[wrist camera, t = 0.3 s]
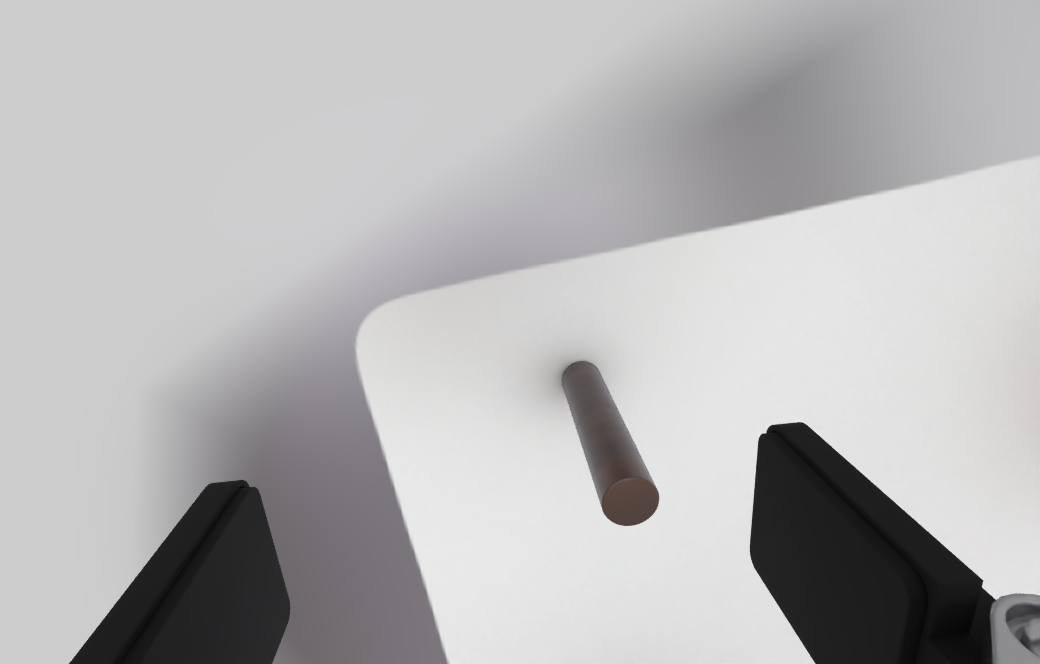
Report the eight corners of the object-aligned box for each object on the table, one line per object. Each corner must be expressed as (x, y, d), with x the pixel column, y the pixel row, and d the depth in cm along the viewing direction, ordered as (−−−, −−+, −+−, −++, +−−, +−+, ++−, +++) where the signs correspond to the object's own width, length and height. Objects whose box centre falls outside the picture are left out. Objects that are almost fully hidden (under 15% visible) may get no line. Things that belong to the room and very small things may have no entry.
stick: (560, 363, 34) (600, 481, 22) (599, 359, 34) (659, 474, 22) (563, 399, 34) (603, 529, 23) (601, 394, 35) (659, 522, 23)
